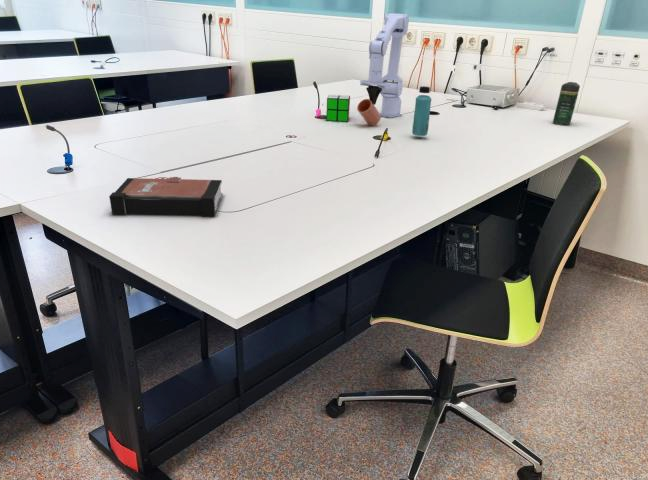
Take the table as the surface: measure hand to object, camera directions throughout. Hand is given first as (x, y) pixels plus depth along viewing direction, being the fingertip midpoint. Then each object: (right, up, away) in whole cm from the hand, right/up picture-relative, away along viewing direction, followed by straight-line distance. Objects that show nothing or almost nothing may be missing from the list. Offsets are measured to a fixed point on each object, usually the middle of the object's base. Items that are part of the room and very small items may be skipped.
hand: (372, 104), depth 239 cm
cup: (+1, -5, +4) cm, 7 cm away
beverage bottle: (+18, -19, -14) cm, 29 cm away
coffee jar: (+93, -1, +22) cm, 95 cm away
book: (-64, -60, -91) cm, 126 cm away
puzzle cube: (-15, -2, +14) cm, 21 cm away
